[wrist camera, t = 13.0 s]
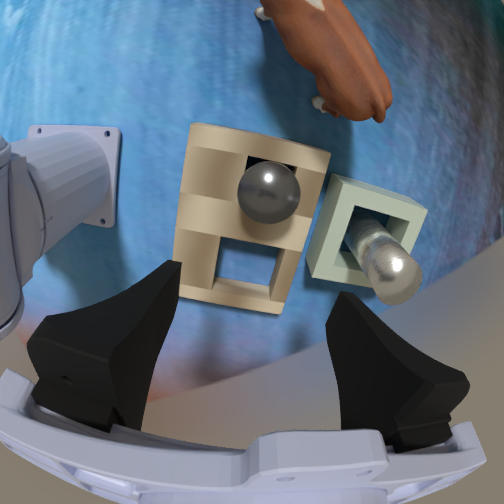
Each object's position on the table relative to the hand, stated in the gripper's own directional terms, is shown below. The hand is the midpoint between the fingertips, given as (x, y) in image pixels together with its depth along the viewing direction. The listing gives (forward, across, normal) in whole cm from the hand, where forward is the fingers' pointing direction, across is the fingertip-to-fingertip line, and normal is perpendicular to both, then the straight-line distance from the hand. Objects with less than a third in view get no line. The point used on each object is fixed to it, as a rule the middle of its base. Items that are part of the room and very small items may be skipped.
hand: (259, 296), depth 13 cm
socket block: (+10, 0, 0) cm, 10 cm away
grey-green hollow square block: (+10, -8, -1) cm, 13 cm away
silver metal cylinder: (+10, -8, -1) cm, 13 cm away
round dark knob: (+10, 0, -3) cm, 10 cm away
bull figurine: (+10, 0, -14) cm, 17 cm away
